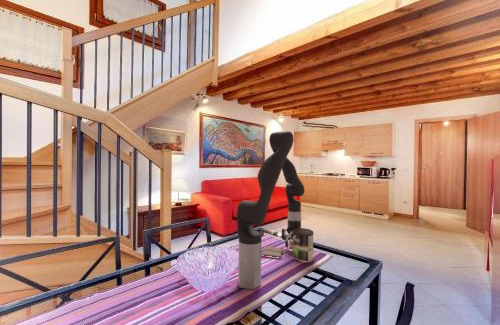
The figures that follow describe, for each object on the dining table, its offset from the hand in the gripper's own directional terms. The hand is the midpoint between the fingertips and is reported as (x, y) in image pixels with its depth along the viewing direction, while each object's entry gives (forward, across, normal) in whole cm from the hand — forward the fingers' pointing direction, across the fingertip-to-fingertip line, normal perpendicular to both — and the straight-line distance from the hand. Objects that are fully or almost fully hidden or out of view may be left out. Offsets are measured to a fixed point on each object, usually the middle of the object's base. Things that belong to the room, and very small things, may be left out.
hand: (293, 247), depth 132 cm
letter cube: (+1, 0, 0) cm, 1 cm away
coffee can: (+1, +5, -11) cm, 12 cm away
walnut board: (+1, -11, -9) cm, 14 cm away
